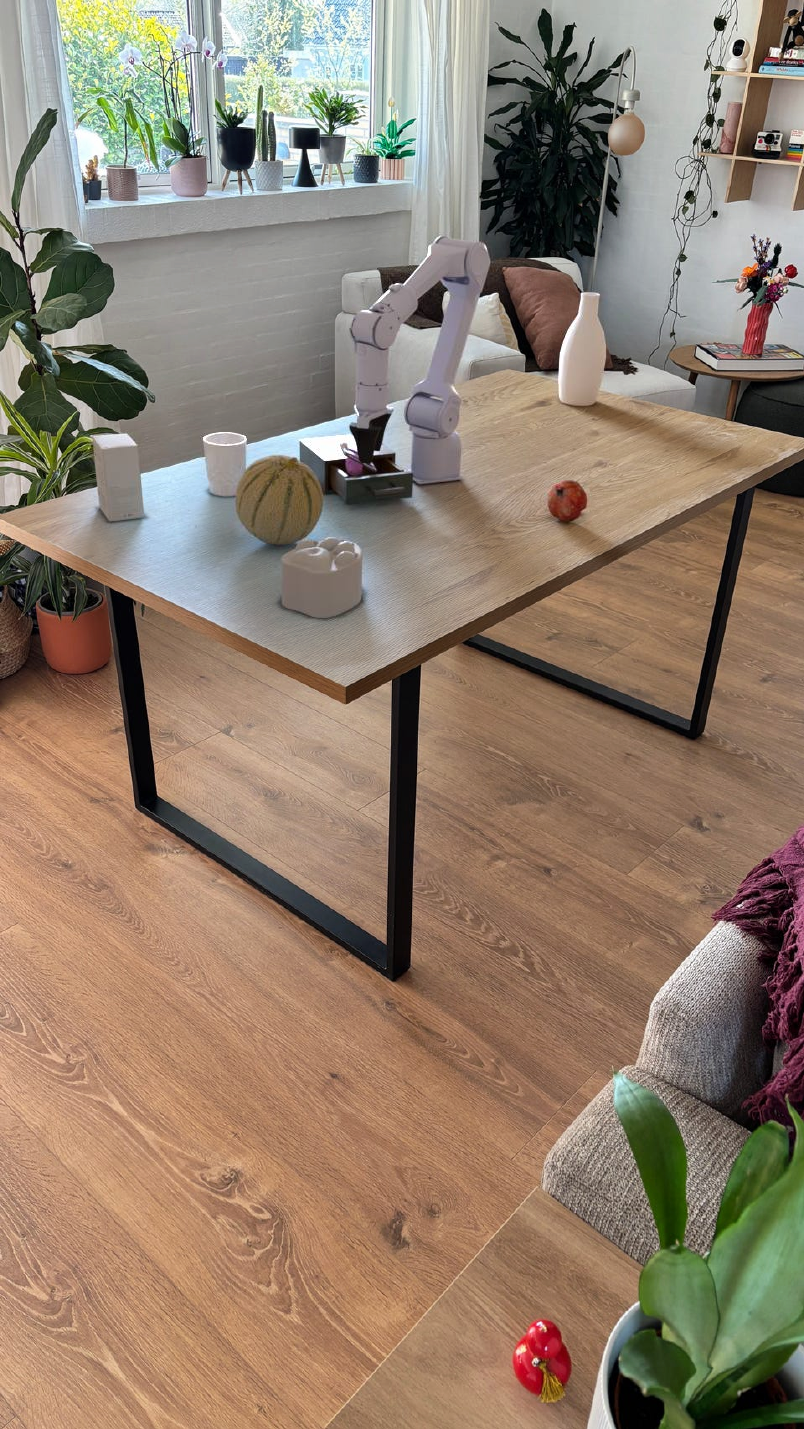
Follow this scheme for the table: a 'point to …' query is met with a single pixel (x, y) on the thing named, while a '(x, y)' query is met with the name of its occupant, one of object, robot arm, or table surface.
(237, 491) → the cantaloupe
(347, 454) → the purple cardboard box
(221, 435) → the white cup
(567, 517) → the pomegranate
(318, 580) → the lumpy-topped squat cylinder
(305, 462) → the cabinet
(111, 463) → the small box
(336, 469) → the drawer
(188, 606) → the table surface
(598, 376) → the bottle
